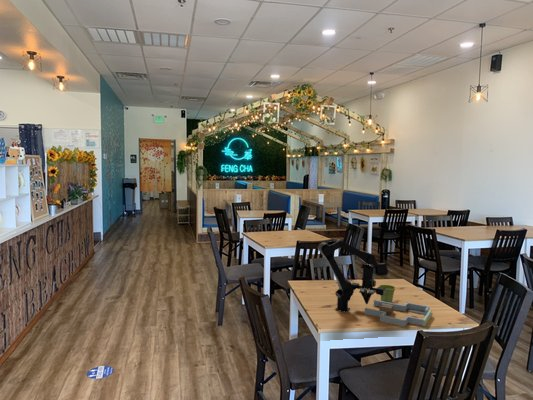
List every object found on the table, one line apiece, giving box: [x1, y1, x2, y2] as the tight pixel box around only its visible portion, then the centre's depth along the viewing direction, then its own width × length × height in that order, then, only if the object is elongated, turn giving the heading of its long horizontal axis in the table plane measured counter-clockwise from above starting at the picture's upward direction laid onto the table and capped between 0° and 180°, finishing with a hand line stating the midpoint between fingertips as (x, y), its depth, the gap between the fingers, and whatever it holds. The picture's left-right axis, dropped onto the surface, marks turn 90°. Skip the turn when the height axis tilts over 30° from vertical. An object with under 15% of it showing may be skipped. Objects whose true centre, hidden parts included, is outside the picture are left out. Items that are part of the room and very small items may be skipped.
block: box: [378, 303, 394, 316], centre depth 209 cm, size 6×6×4 cm
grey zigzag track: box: [363, 299, 432, 327], centre depth 206 cm, size 29×30×3 cm
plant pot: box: [378, 284, 397, 303], centre depth 228 cm, size 9×9×9 cm
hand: (366, 304), depth 215 cm, fingers closed
